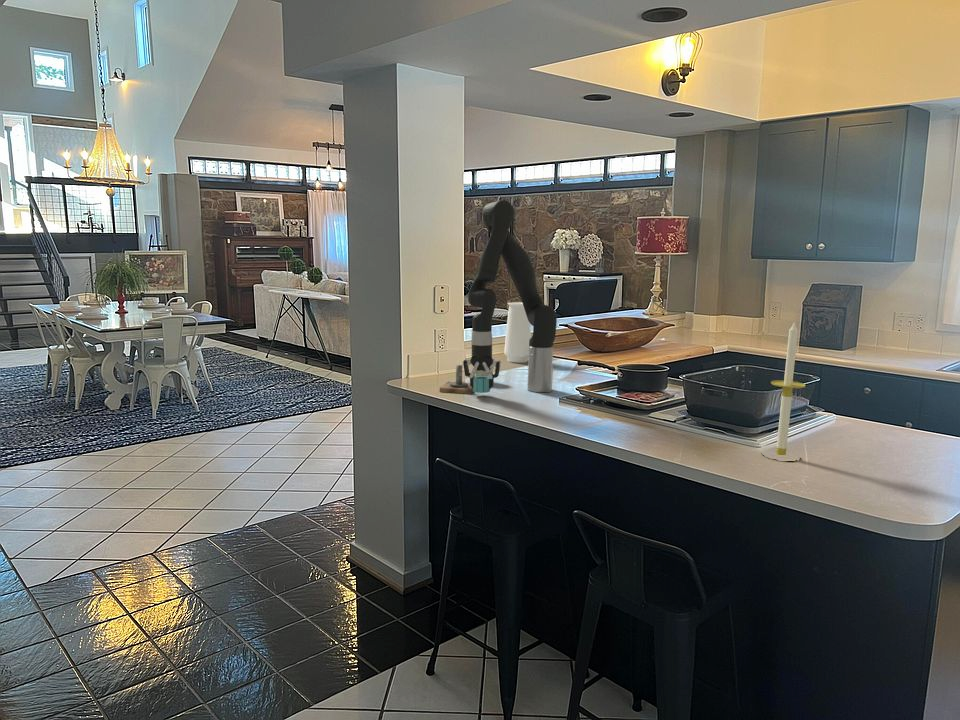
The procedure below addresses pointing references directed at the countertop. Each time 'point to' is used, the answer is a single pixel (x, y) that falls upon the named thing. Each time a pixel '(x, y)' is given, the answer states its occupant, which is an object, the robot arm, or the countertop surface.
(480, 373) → the mug
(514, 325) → the vase
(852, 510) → the countertop surface
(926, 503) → the countertop surface
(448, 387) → the post block
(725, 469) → the countertop surface
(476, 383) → the collar
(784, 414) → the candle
